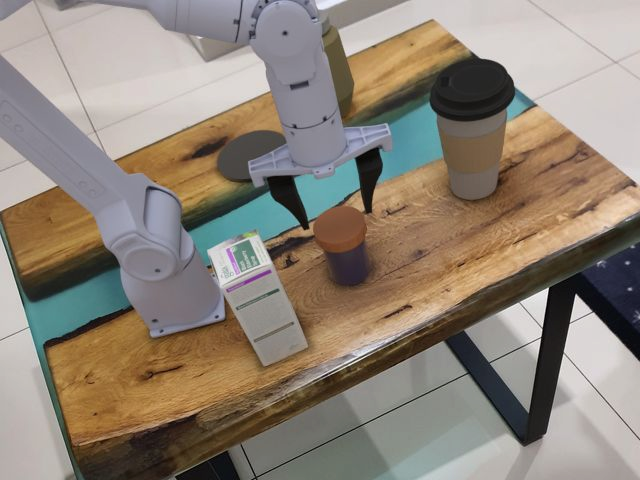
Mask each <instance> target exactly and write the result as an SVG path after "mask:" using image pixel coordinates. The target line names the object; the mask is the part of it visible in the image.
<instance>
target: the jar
mask: <svg viewBox="0 0 640 480" xmlns="http://www.w3.org/2000/svg"><path fill="white" fill-rule="evenodd" d="M321 251H322V254H323V257H324V260H325V263H326V266H327V270H328V273H329V277H330V279H331V280H332V281H333V282H334V283H335V284H337V285H339V286H343V287H353V286H357V285H359V284H361V283H363V282H364V281H366V280H367V279H368V278H369V277H370V275H371V273H372V269H373V265H372V260H371V256H370V252H369V248H368V243H367V239H366V237H365V238H364V240H363V241H362V242H361V243H360V244H359V245H358V246H356V247H355V248H353V249H351V250H349V251H345V252H341V253H340V252H339V253H333V252H328V251H325V250H323V249H321Z"/></svg>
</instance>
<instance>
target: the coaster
mask: <svg viewBox="0 0 640 480" xmlns="http://www.w3.org/2000/svg"><path fill="white" fill-rule="evenodd" d="M285 144H287V142H286V139H285V136H284V134H282V133H280V132H278V131H275V130H269V129H259V130H253V131H249V132H245V133H243V134H241V135H239V136H237V137H235V138H232V140H230V141H229V142H227V144H225V146H224V147H222V149H221V150H220V152H219V154H218V156H217V159H216V166H217V170H218V171H219V174H221V176H222V177H224V178H225V179H226V180H228V181H232V182H235V183H236V182H237V183H251V182H253V181H252V179H251V176H250V173H249V166H248V161H251V160H254V159H257V158H259V157H262V156H264V155H266V154H268V153H270V152H272V151H274V150H275V149H277V148H279V147H281V146H283V145H285Z"/></svg>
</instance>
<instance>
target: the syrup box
mask: <svg viewBox="0 0 640 480" xmlns="http://www.w3.org/2000/svg"><path fill="white" fill-rule="evenodd" d="M206 251H207V252H206V253H207V256H208V258H209V261H210V265H211V268H212V271H213V272H212V273H214V274H215V276H214V277H216V279H217V281H218V284H219V287H220V289H221V290H222V292H223V294H224V299H226V301H227V303H228V305H229V307H230V309H231V310H232V312H233V315H234V316H235V318H236V319H237V321H238V323H239V326H240V328H241V329H242V331H243V332H244V334H245V336H246V338H247V339H248V342H249V343H250V345H251V347H252V348H253V350H254V353H255V355H256V356H257V358H258V359H259V362H260V363H261V365H262V366H263V367H268V366H270V365H273V364H275V363H277V362H280V361H282V360H284V359H286V358H289V357H291V356H293V355H295V354H297V353H300V352H302V351H303V350H306V349H308V348H309V344H308V340H307V339H306V336H305V334H304V332H303V329H302V326H301V324H300V322H299V319H298V317H297V314H296V312H295V309H294V307H293V305H292V302H291V300H290V298H289V295H288V293H287V290H286V289H285V286H284V283H283V281H282V279H281V277H280V275H279V273H278V271H277V269H276V266H275V265H274V262H273V260H272V257H271V255H270V254H269V252H268V250H267V248H266V245H265V244H264V241H263V239H262V237H261V235H260V232H259V230H258V229H256V228H255V229H252V230H248V231H246V232H243V233H240V234H238V235H235V236H233V237H231V238H228V239H226V240H224V241H222V242H220V243H218V244H216V245H214V246H213V247H211V248H208V249H206Z"/></svg>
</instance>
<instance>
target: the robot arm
mask: <svg viewBox="0 0 640 480" xmlns="http://www.w3.org/2000/svg"><path fill="white" fill-rule="evenodd" d="M75 1H77V2H84V3H90V4H91V3H92V4H99V5H107V6H112V7H120V8H127V9H135V10H141V11H146V12H148V13H149V14H150V15H151V16H152V17H153V18H154V20H155V21H156V22H157V23H158V24H159V26H160V27H161V28H162V29H163V30H165V31H169V32H173V33H174V32H175V33H178V34H184V35H189V36H194V37H198V38H205V39H209V40H214V41H220V42H225V43H228V44H229V43H230V44H235V45H240V46H250V47H251V50H252V51H253V53H254V54H255V55H256V57H258V58H259V59H260V60H261V61H262V62H263V63H264V67H265V77H266V81H267V84H268V87H269V90H270V93H271V97H272V100H273V104H274V106H275V110H276V113H277V116H278V119H279V123H280V127H281V129H282V132H283V136H284V137H285V139H286V142H287V144H285V145H283V146H281V147H279V148H277V149H275V150H274V151H272V152H270V153H268V154H266V155H264V156H262V157H259V158H257V159H254V160H251V161H248V166H249V173H250V176H251V179H252V181H251V182H252V184H253V186H254V188H255V189H256V188H259V187H262V186H265V184H266V182H267V185H268V188H269V193H270V196H271V198H272V200H274V201H275V202H276V203H278V204H280V205H281V206H282V207H283V208H285V209H286V210H287V211H288V212H289V213H290V214H291V215H292V216H293V217H294V218H295V219H296V220H297V222H298V223H299V225H300V226H301V228H302V230H303V231H304V232H305V231H308V230H311V227H310V223H309V218H308V213H307V211H306V208H305V206H304V203H303V201H302V198H301V195H300V193H299V191H298V187H297V184H296V181H295V177H294V176H303V175H304V176H305V175H313V177H314V179H315V180H323V179H327V178H330V177H333V176H335V174H336V169H337V168H339V167H341V166H342V165H345V164H346V163H348V162H351V160H353V159H354V161H355V166H356V170H357V175H358V181H359V182H358V183H359V189H360V190H359V191H360V194H361V195H360V197H361V200H362V204H363V208H364V211H365V215H368V214H372V213H373V199H374V193H375V189H376V186H377V183H378V181H379V179H380V176H382V174H383V170H384V169H383V168H384V164H383V159H382V155H381V152H380V150H381V151H382V152H383V153H387V152H391V151H394V143H393V136H392V132H391V130H390V126H389V123H387V122H385V123H380V124H377V125H376V124H375V125H369V126H368V125H366V126H349V127H344V124H343V121H342V118H341V115H340V111H339V106H338V102H337V97H336V93H335V88H334V84H333V79H332V75H331V70H330V66H329V61H328V57H327V55H326V53H325V52H324V44H323V40H322V24H321V22H319V18H318V13H317V8H318V7H317V8H316V6H317V2H316V0H75ZM31 2H33V0H0V22H1V21H4V20H6V19H7V18H9V17H11V16H12V15H13V14H15V13H16V12H18V11H19V10H21V9H22V8H24V7H25V6H27V5H28V4H30V3H31ZM0 139H2V140H3V141H4V142H5V143H6V144H7V145H8V146H10V147H11V148H12V149H13V150H15V151H16V153H18V154H19V155H20V156H22V157H23V158H24V159H25V160H27V161H28V162H29V163H31V165H32V166H34V167H35V168H36V169H37V170H39V172H41V173H42V174H43V175H44V176H45V177H47V178H48V179H49V180H51V182H53V183H54V184H56V185H57V186H58V187H59V188H60V189H61V190H63V191H64V192H65V193H66V194H67V195H69V196H70V197H71V198H72V199H73V200H75V201H76V202H77V203H78V204H79V205H81V207H83V208H84V209H85V210H86V211H88V212H89V213H90V214H91V215H92V216H93V218H94V220H95V223H96V226H97V229H98V231H99V234H100V238H101V240H102V243H103V245H104V247H105V249H107V250H108V251H109V252H111V253H112V254H113V255H114V256H115V257H116V260H117V262H118V264H119V266H120V269H119V271H120V273H119V274H120V281H121V284H122V288H123V291H124V293H125V295H126V298H127V300H128V301H129V304H131V306H132V307H133V309H134V310H135V312H136V313H137V315H138V316H139V317H140V319H141V320H142V321H143V322H144V324H145V326H146V327H147V329H148V330H149V336H150V337H151V338H152V339H157V338H161V337H165V336H168V335H172V334H176V333H179V332H184V331H187V330H192V329H196V328H199V327H203V326H206V325H210V324H215V323H218V322H222V321H224V320H225V319H226V302H225V296H224V294H223V292H222V290H221V289H220V287H219V284H218V281H217V279H216V277H215V274H214V272H211V271H210V269H209V268H208V266H207V264H206V261H204V258H203V257H202V255H201V253H200V251H199V249H198V247H197V245H196V243H195V242H194V240H193V237H192V236H191V234H189V232H187V231H186V230H185V228H184V226H183V224H182V215H183V211H184V209H183V204H182V201H181V199H180V198H179V196H178V195H177V194H176V193H175V192H174V191H172V190H171V189H169V188H168V187H165V186H163V185H159V184H158V183H155V182H154V181H153V180H152V179H150V178H149V177H148V176H147V175H146V174H144V173H142V172H137V173H130V174H129V173H127V172H126V171H125V170H124V169H123V168H122V167H121V166H120V165H119V164H118V163H116V162H115V161H114V160H113V159H112V158H111V157H110V156H109V155H108V154H107V153H106V152H105V151H104V150H103V149H102V148H100V147H99V146H98V145H97V144H96V143H95V142H94V141H93V140H92V139H91V138H90V137H88V135H87V134H86V133H85V132H84V131H82V130H81V129H80V128H79V127H78V126H77V125H76V124H75V123H74V122H73V121H72V120H70V118H68V116H67V115H65V113H64V112H62V111H61V109H60V108H58V107H57V106H56V105H55V104H54V103H53V102H51V100H50V99H48V98H47V97H46V96H45V95H44V93H42V92H41V91H40V90H39V89H38V88H37V87H36V86H35V85H34V84H33V83H32V82H30V81H29V80H28V79H27V78H26V77H25V76H24V75H23V73H21V72H20V71H19V70H18V69H17V68H16V67H15V66H14V65H13V64H11V63H10V61H8V60H7V59H6V58H5V57H4V56H3V55H2V54H1V53H0Z"/></svg>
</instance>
